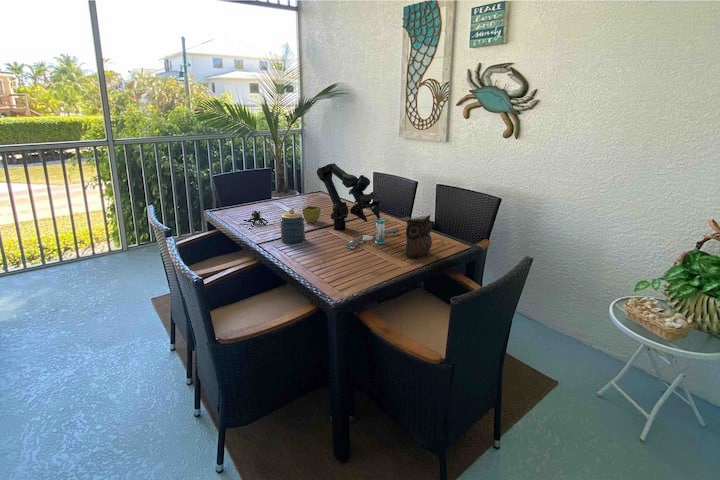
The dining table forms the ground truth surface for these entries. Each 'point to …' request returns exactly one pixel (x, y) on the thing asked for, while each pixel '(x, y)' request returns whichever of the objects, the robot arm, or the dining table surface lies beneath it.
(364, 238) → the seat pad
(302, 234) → the canister
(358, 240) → the shaft
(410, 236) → the owl
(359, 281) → the dining table surface
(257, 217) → the octopus toy
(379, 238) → the coupling
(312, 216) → the flower pot
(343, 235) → the dining table surface
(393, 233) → the shaft
